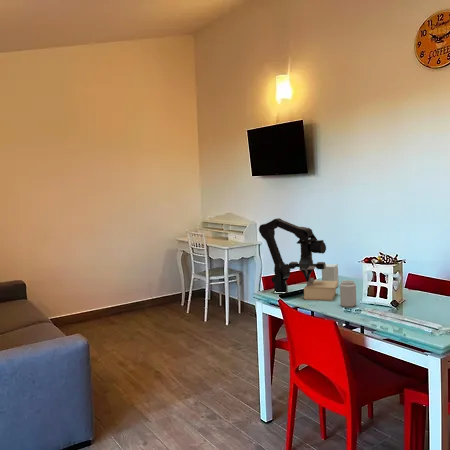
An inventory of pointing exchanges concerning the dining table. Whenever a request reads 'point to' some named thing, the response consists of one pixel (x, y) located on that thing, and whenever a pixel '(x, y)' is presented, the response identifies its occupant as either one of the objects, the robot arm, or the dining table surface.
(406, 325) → the dining table surface
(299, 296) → the dining table surface
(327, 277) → the supplement box
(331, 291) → the mailer box
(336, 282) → the lid
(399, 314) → the dining table surface
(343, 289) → the can
